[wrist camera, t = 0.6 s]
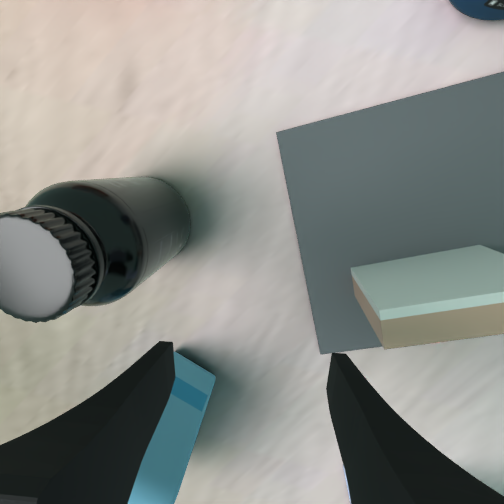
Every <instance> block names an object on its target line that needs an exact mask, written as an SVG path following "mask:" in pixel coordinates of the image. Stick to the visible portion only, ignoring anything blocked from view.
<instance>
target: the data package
mask: <svg viewBox="0 0 504 504" xmlns="http://www.w3.org/2000/svg"><path fill="white" fill-rule="evenodd" d="M174 364H175V376H176V378H175V381H174V384H173V388H172V391H171V394H170V397H169V400H168V402H167V405H166V407H165V409H164V412H163V414H162V416H161V418H160V421H159V423H158V425H157V427H156V430H155V432H154V434H153V436H152V439H151V441H150V443H149V445H148V448H147V450H146V452H145V455H144V457H143V460H142V462H141V465H140V468H139V471H138V474H137V477H136V480H135V483H134V486H133V489H132V492H131V495H130V498H129V501H128V504H174V502H175V500H176V497H177V495H178V492H179V489H180V486H181V483H182V480H183V477H184V474H185V471H186V468H187V465H188V462H189V459H190V456H191V453H192V450H193V447H194V444H195V441H196V438H197V435H198V432H199V429H200V426H201V423H202V420H203V417H204V414H205V411H206V408H207V405H208V402H209V399H210V396H211V393H212V390H213V387H214V384H215V379H216V378H215V375H213V374H212V373H210V372H208V371H207V370H205V369H203V368H202V367H200V366H198V365H197V364H195V363H193V362H192V361H190V360H188V359H187V358H185V357H183V356H182V355H180V354H178V353H177V352H174Z"/></svg>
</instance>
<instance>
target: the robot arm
mask: <svg viewBox="0 0 504 504" xmlns="http://www.w3.org/2000/svg"><path fill="white" fill-rule="evenodd" d="M175 378H176V376H175V364H174V352H173V342H164V341H159V342H158V343H157V344H156V345H155V346H153V347H152V348H151V349H150V350H149V351H148V352H147V353H146V354H144V355H143V356H142V357H141V358H140V359H139V360H138V361H136V362H135V363H134V364H133V365H132V366H131V367H129V368H128V369H127V370H126V371H125V372H123V373H122V374H121V375H120V376H118V377H117V378H116V379H115V380H113V381H112V382H111V383H109V384H108V385H107V386H106V387H104V388H103V389H101V390H100V391H99V392H97V393H96V394H94V395H93V396H91V397H90V398H88V399H87V400H85V401H84V402H82V403H81V404H79V405H77V406H76V407H74V408H72V409H70V410H69V411H67V412H65V413H64V414H62V415H60V416H59V417H57V418H55V419H53V420H52V421H50V422H48V423H46V424H44V425H42V426H40V427H38V428H36V429H34V430H32V431H30V432H28V433H26V434H24V435H22V436H20V437H18V438H16V439H13V440H11V441H9V442H7V443H4V444H2V445H0V504H128V501H129V498H130V495H131V492H132V489H133V486H134V483H135V480H136V477H137V474H138V471H139V468H140V465H141V462H142V460H143V457H144V455H145V452H146V450H147V448H148V445H149V443H150V441H151V439H152V436H153V434H154V432H155V430H156V427H157V425H158V423H159V421H160V418H161V416H162V414H163V412H164V409H165V407H166V405H167V402H168V400H169V397H170V394H171V391H172V388H173V384H174V381H175ZM326 389H327V397H328V404H329V410H330V415H331V419H332V423H333V427H334V430H335V434H336V438H337V442H338V446H339V449H340V453H341V457H342V461H343V469H344V474H345V479H346V484H347V489H348V494H349V499H350V504H504V496H502V495H501V494H499V493H498V492H496V491H495V490H493V489H492V488H490V487H488V486H487V485H485V484H484V483H482V482H481V481H479V480H478V479H476V478H475V477H473V476H472V475H471V474H469V473H468V472H467V471H465V470H464V469H462V468H461V467H460V466H458V465H457V464H455V463H454V462H453V461H451V460H450V459H449V458H448V457H446V456H445V455H444V454H442V453H441V452H440V451H439V450H437V449H436V448H435V447H434V446H433V445H431V444H430V443H429V442H428V441H426V440H425V439H424V438H423V437H422V436H421V435H419V434H418V433H417V432H416V431H415V430H414V429H413V428H412V427H411V426H410V425H408V424H407V423H406V422H405V421H404V420H403V419H402V418H401V417H400V416H399V415H398V414H397V413H396V412H395V411H394V410H393V409H392V408H391V407H390V406H389V405H388V404H387V403H386V402H385V401H384V399H383V398H382V397H381V396H380V395H379V394H378V393H377V391H376V390H375V389H374V388H373V387H372V386H371V384H370V383H369V382H368V381H367V380H366V378H365V377H364V376H363V375H362V373H361V372H360V371H359V370H358V368H357V367H356V366H355V365H354V363H353V362H352V361H351V359H350V358H349V357H348V356H347V355H346V354H341V353H332V356H331V362H330V369H329V375H328V382H327V388H326Z"/></svg>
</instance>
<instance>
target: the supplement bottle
mask: <svg viewBox="0 0 504 504" xmlns="http://www.w3.org/2000/svg"><path fill="white" fill-rule="evenodd" d="M189 233H190V215H189V211H188V209H187V206H186V204H185V202H184V200H183V199H182V197H181V196H180V195H179V193H178V192H177V191H176V190H175V189H173V188H172V187H171V186H170V185H168V184H167V183H165V182H163V181H161V180H158V179H155V178H150V177H126V178H110V179H94V180H78V181H67V182H61V183H57V184H54V185H51V186H49V187H46V188H44V189H43V190H41V191H40V192H38V193H37V194H36V195H35V196H34V197H33V198H32V199H31V200H30V201H29V202H28V204H27V205H26V206H25V207H24V208H21V209H19V210H16V211H9V212H3V213H0V309H2V310H3V311H4V312H5V313H6V314H10V315H12V316H13V317H15V318H17V319H22V320H24V321H32V322H35V323H37V322H39V321H41V322H47V321H49V320H55V319H57V318H59V317H60V316H62V315H64V314H66V313H68V312H69V311H71V310H72V309H74V308H76V307H78V306H80V305H82V306H100V305H106V304H110V303H112V302H115V301H117V300H119V299H121V298H123V297H124V296H126V295H127V294H129V293H130V292H131V291H133V290H134V289H135V288H136V287H137V286H139V285H140V284H141V283H142V282H144V281H145V280H146V279H147V278H149V277H150V276H151V275H152V274H154V273H155V272H156V271H157V270H159V269H160V268H161V267H162V266H163V265H165V264H166V263H167V262H168V261H170V260H171V259H172V258H173V257H174V256H176V255H177V254H178V253H179V252H180V251H181V250H182V248H183V247H184V245H185V244H186V242H187V240H188V237H189Z"/></svg>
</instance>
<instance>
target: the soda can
mask: <svg viewBox="0 0 504 504" xmlns="http://www.w3.org/2000/svg"><path fill="white" fill-rule="evenodd" d="M449 1H450V2H451V4H452V5H453V6H454V7H455V8H456V9H457V10H459V11H460V12H462V13H464V14H466V15H468V16H470V17H473V18H477V19H481V20H502V19H504V0H449Z"/></svg>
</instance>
